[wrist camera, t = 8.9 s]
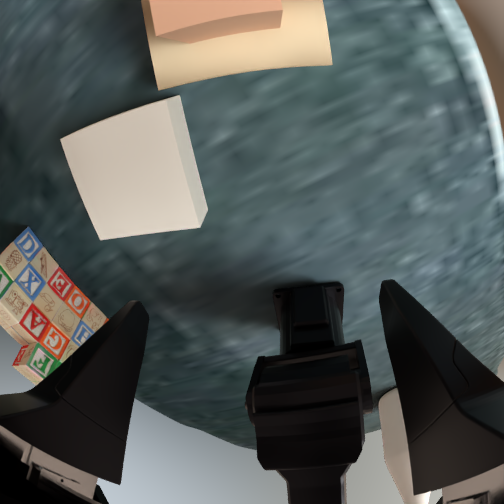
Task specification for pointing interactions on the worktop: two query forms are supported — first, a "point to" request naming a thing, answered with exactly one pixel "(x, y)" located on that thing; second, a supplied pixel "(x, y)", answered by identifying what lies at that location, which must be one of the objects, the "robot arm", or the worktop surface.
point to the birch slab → (243, 47)
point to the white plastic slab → (138, 171)
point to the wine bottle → (397, 447)
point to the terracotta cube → (213, 18)
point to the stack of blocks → (42, 308)
